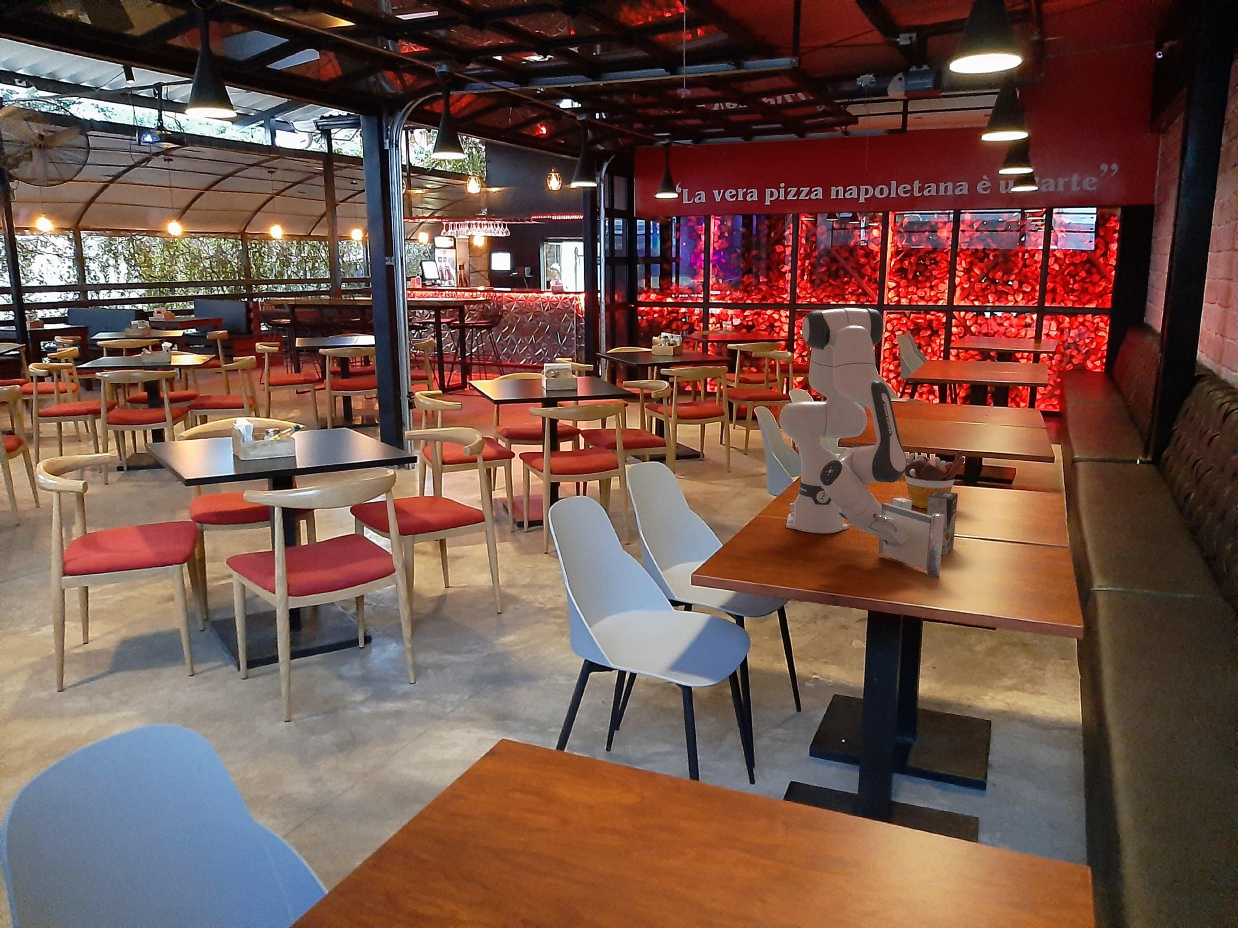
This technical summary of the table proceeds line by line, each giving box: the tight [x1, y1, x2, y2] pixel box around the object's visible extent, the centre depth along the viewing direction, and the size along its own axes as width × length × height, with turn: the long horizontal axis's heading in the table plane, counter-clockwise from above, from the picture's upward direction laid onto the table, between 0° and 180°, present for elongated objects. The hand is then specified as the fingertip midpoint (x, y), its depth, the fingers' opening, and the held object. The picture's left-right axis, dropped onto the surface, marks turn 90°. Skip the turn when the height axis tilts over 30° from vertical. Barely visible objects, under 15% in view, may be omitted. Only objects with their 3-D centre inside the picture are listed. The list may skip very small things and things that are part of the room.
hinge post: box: [926, 513, 944, 578], centre depth 229 cm, size 3×3×16 cm
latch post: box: [892, 497, 913, 510], centre depth 245 cm, size 4×3×16 cm
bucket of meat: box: [904, 450, 966, 510], centre depth 304 cm, size 20×16×20 cm
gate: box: [878, 502, 932, 571], centre depth 238 cm, size 17×2×14 cm, turn 28°
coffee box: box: [926, 491, 959, 556], centre depth 252 cm, size 9×6×16 cm
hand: (891, 543), depth 240 cm, fingers closed
